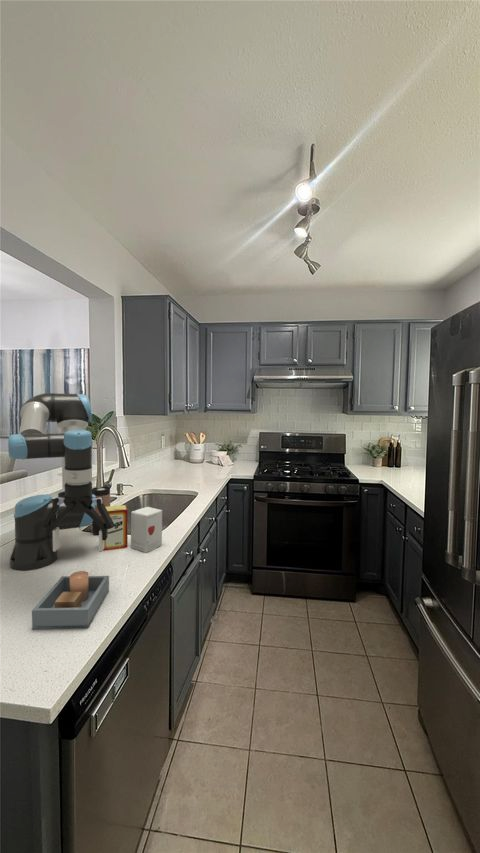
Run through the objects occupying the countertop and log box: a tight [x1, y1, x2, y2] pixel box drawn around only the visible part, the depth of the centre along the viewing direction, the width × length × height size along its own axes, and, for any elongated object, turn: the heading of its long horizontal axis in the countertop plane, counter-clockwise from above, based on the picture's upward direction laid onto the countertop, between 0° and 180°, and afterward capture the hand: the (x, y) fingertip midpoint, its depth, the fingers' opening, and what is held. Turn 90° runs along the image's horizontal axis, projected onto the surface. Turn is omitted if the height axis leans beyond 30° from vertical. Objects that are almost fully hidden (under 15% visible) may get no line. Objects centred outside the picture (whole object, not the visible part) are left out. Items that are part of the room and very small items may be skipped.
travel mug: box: [91, 486, 111, 536], centre depth 159 cm, size 8×8×20 cm
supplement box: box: [130, 506, 163, 554], centre depth 144 cm, size 9×9×15 cm
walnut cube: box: [55, 592, 82, 608], centre depth 97 cm, size 5×5×5 cm
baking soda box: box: [102, 504, 128, 552], centre depth 145 cm, size 10×6×16 cm
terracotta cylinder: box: [69, 570, 89, 602], centre depth 105 cm, size 5×5×7 cm
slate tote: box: [31, 575, 110, 630], centre depth 101 cm, size 14×18×5 cm
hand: (79, 549), depth 110 cm, fingers open, 13 cm apart
